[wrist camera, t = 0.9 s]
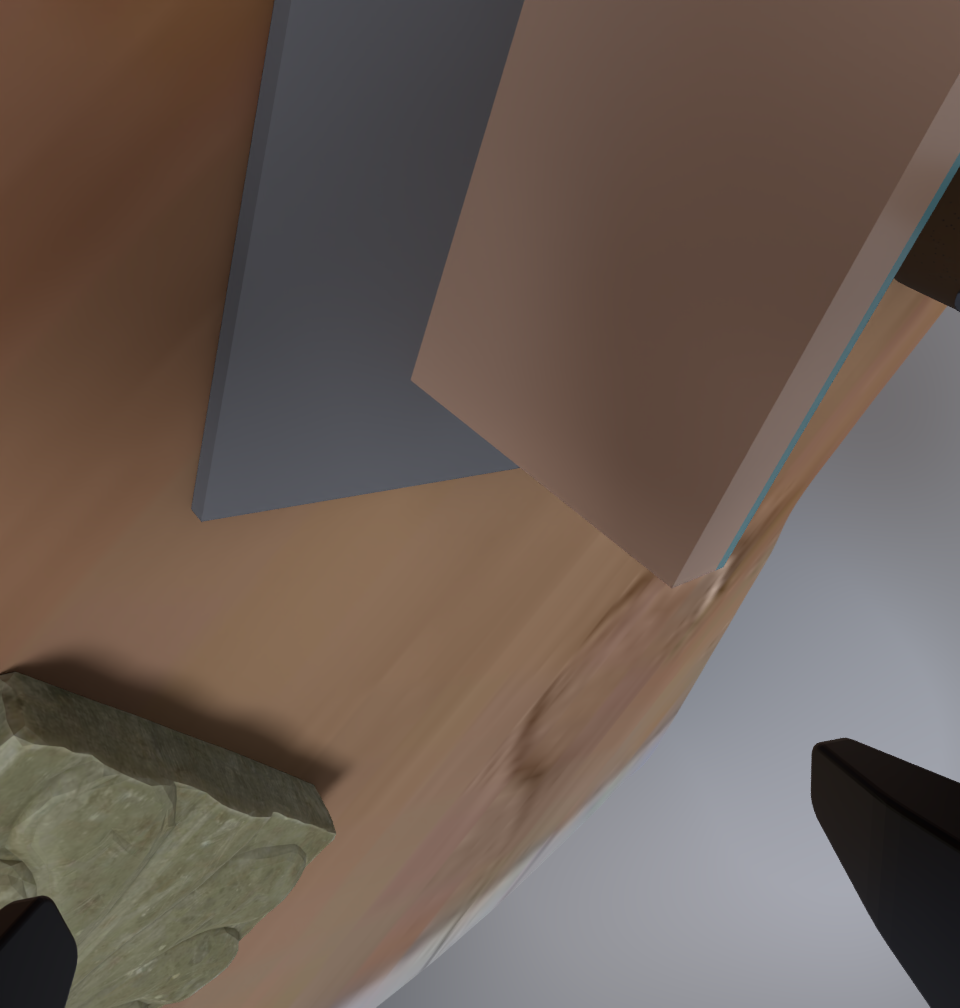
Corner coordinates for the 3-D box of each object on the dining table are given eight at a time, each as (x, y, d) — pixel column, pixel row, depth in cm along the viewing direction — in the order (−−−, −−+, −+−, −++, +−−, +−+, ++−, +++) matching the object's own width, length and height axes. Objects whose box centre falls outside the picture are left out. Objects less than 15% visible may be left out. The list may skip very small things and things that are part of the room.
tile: (410, 380, 23) (671, 588, 18) (556, -106, 17) (1006, -12, 12) (468, 377, 25) (723, 566, 20) (619, -67, 19) (1038, 31, 14)
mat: (191, 509, 21) (201, 521, 21) (371, -594, 12) (395, -602, 11) (644, 438, 37) (654, 445, 36) (884, -63, 27) (900, -60, 27)
